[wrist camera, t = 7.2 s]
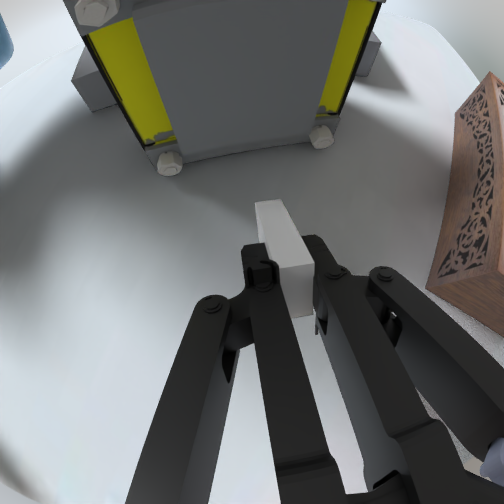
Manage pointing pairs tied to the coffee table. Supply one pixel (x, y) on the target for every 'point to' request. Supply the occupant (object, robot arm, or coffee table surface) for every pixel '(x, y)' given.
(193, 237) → the coffee table surface
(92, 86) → the block
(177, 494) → the robot arm
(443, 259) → the tissue box cover
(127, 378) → the coffee table surface
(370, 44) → the block
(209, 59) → the electrical component
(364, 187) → the coffee table surface
